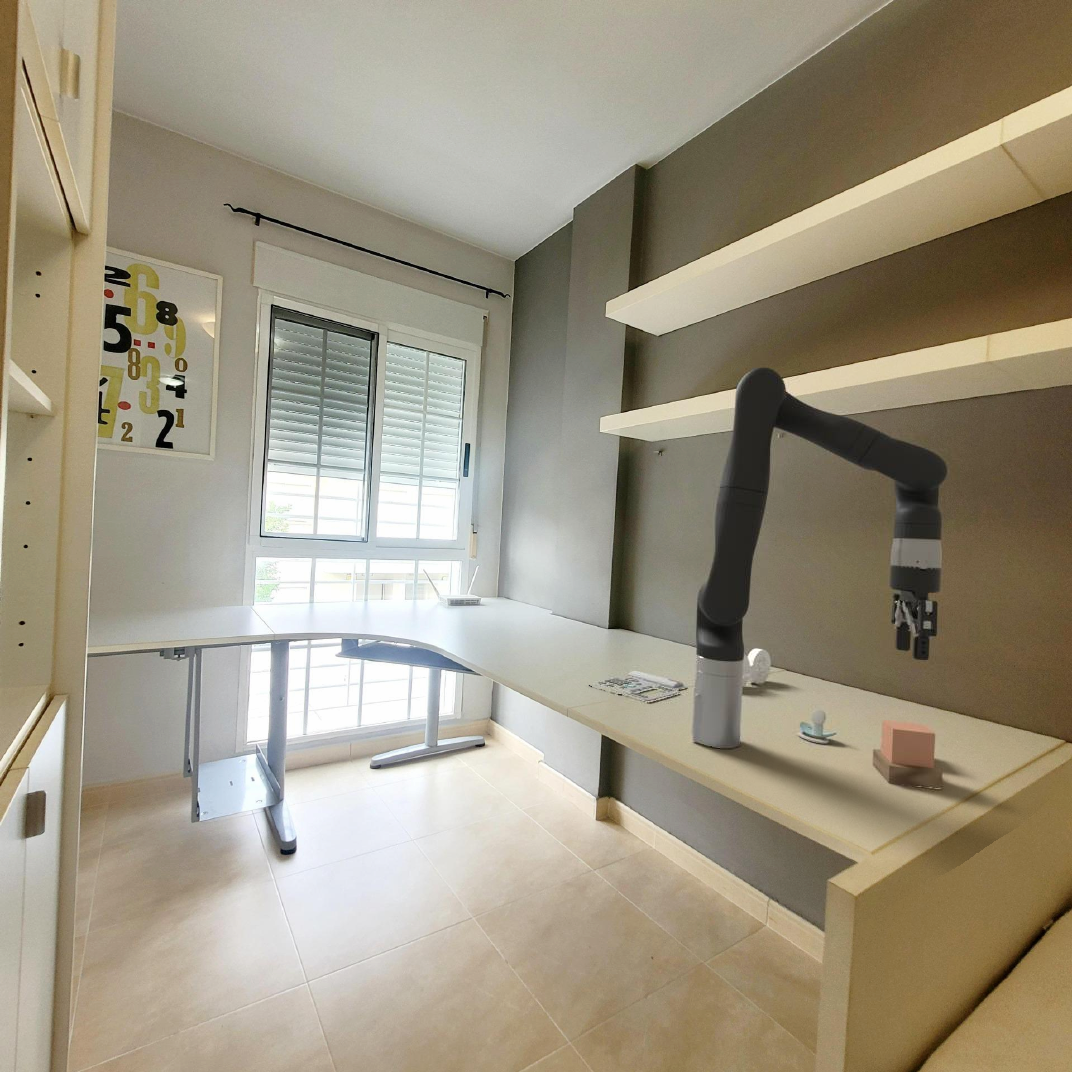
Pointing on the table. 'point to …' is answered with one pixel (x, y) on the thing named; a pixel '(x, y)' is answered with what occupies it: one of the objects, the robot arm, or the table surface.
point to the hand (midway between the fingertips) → (911, 654)
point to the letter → (756, 666)
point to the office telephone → (639, 687)
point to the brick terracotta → (908, 743)
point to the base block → (906, 772)
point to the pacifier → (815, 728)
